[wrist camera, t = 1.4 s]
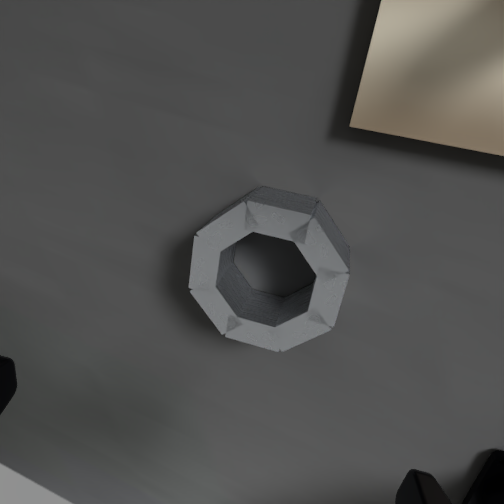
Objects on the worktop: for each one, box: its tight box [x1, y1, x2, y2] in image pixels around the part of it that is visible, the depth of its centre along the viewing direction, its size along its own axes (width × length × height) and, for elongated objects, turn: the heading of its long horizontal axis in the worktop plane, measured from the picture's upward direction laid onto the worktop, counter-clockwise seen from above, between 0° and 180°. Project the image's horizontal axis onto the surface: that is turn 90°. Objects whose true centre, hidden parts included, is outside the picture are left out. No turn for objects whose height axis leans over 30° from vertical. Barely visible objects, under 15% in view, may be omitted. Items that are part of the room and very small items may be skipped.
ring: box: [189, 186, 350, 352], centre depth 19 cm, size 7×7×3 cm
